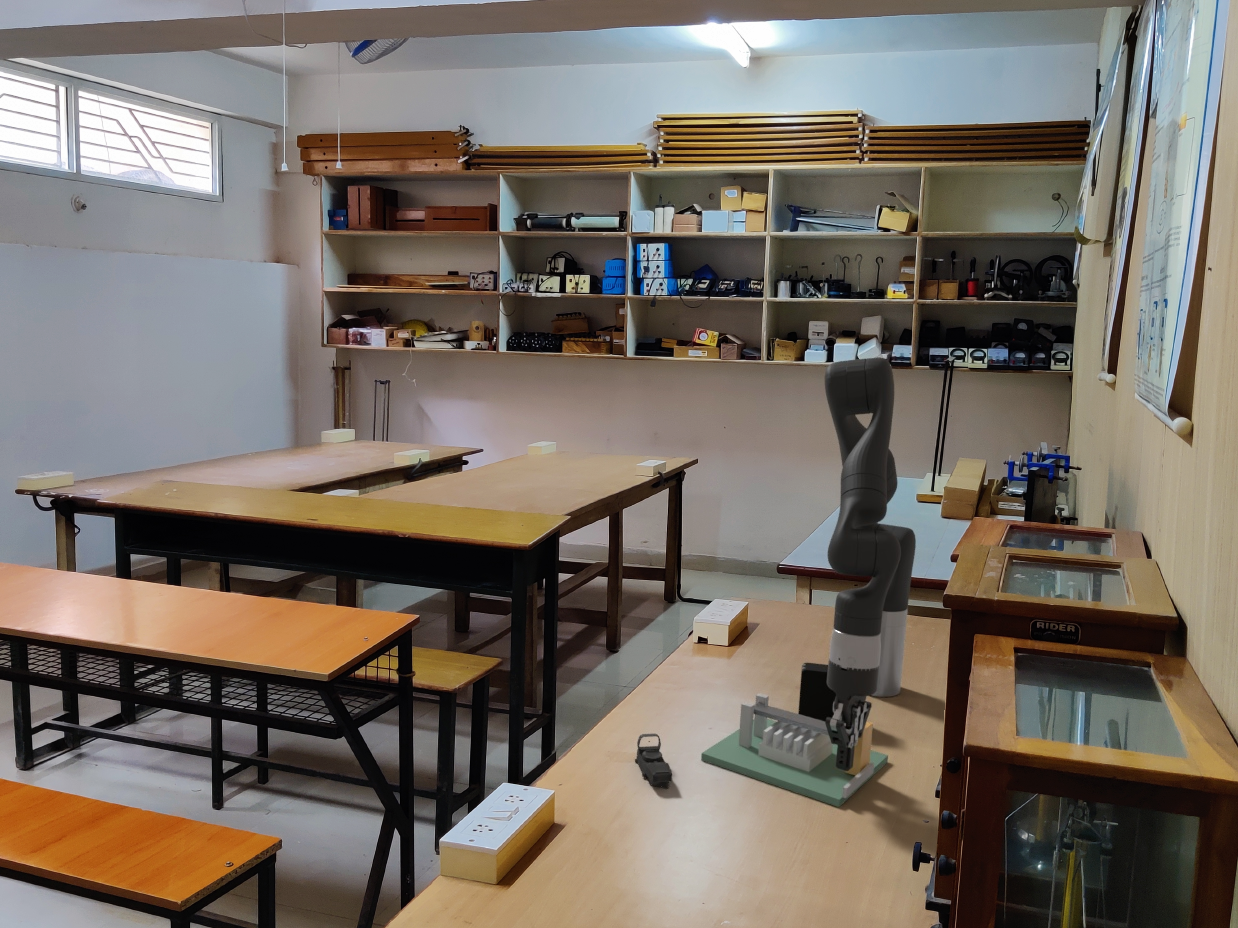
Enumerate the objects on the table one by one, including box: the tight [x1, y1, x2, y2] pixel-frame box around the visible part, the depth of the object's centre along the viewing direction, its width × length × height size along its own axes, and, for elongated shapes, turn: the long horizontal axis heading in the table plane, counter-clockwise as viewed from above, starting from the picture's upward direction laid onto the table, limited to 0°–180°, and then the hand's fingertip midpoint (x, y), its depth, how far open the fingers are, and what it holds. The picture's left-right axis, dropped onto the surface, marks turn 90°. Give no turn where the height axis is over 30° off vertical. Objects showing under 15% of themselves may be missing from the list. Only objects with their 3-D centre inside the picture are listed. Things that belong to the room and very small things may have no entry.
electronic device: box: [797, 662, 836, 721], centre depth 179 cm, size 4×10×10 cm, turn 78°
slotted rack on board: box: [700, 692, 889, 808], centre depth 162 cm, size 20×25×8 cm
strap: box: [753, 702, 829, 735], centre depth 162 cm, size 4×16×1 cm, turn 54°
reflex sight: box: [634, 733, 673, 789], centre depth 155 cm, size 4×10×5 cm, turn 11°
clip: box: [845, 720, 874, 776], centre depth 157 cm, size 4×5×8 cm
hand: (844, 768), depth 152 cm, fingers closed
